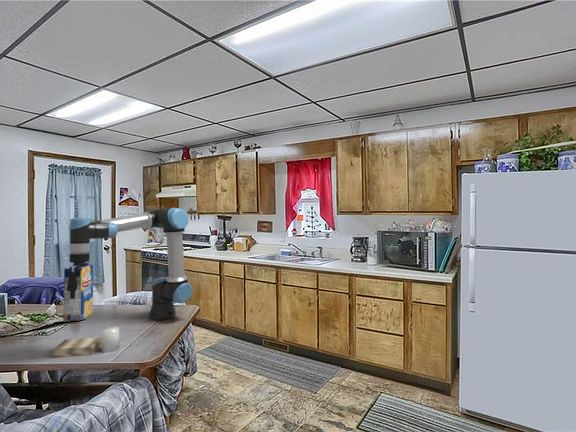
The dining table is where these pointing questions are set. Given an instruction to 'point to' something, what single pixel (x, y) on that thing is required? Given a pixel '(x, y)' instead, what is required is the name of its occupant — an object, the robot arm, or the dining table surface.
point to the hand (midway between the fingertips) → (78, 302)
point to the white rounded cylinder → (110, 339)
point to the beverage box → (79, 294)
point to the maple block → (77, 347)
